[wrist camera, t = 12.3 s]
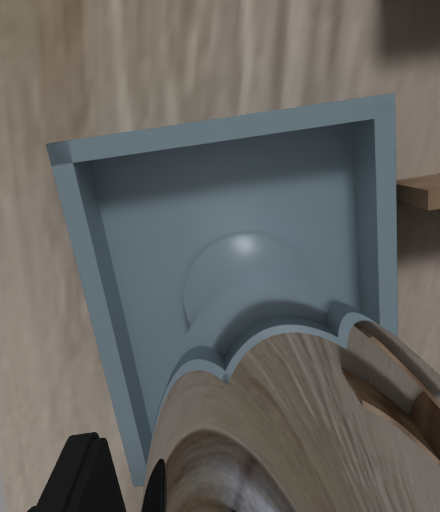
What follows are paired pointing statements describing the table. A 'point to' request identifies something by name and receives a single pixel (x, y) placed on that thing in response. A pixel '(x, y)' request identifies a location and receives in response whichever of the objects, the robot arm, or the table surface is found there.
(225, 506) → the silver metal cup
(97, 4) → the table surface
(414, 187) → the walnut bay
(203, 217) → the slate tray
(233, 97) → the table surface
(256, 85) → the table surface
